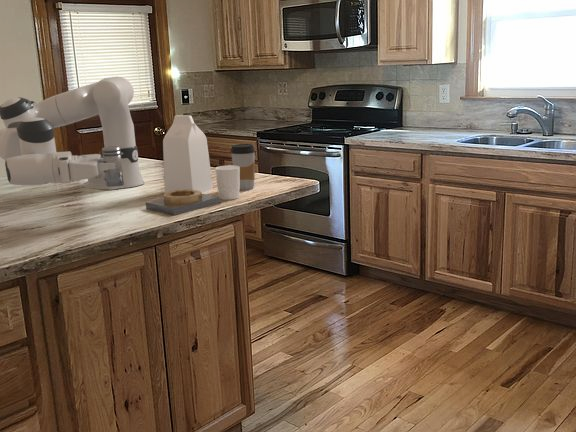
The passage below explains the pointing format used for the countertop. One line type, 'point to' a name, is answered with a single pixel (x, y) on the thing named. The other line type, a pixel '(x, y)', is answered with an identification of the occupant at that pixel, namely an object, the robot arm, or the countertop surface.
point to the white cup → (228, 181)
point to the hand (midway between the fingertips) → (115, 163)
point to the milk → (186, 157)
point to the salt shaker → (114, 155)
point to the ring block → (182, 201)
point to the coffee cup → (244, 164)
